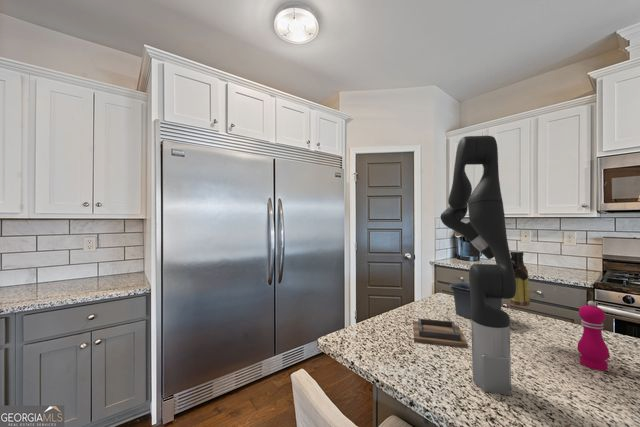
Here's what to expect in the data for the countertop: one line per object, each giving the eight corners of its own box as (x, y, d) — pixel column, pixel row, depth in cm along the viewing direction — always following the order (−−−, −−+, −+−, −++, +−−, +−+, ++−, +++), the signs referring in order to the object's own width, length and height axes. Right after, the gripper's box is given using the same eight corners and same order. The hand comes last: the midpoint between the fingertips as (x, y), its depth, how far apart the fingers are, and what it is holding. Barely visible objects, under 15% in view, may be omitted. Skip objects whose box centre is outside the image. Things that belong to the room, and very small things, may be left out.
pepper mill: (599, 373, 82) (597, 305, 83) (571, 361, 89) (570, 298, 90) (616, 369, 84) (614, 303, 85) (587, 358, 91) (585, 296, 92)
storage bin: (447, 313, 135) (446, 284, 135) (467, 308, 142) (466, 280, 143) (491, 328, 116) (490, 294, 116) (512, 321, 124) (511, 289, 124)
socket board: (467, 348, 99) (467, 338, 99) (414, 341, 105) (413, 332, 105) (458, 328, 116) (458, 320, 116) (413, 324, 122) (413, 316, 122)
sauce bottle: (523, 302, 107) (522, 250, 107) (533, 307, 101) (532, 252, 101) (505, 301, 108) (504, 250, 108) (514, 306, 102) (513, 252, 102)
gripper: (497, 238, 101) (538, 274, 96) (492, 236, 114) (527, 267, 109) (480, 252, 104) (519, 287, 98) (477, 248, 117) (511, 279, 111)
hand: (523, 277), depth 104 cm, fingers closed on sauce bottle, 6 cm apart
